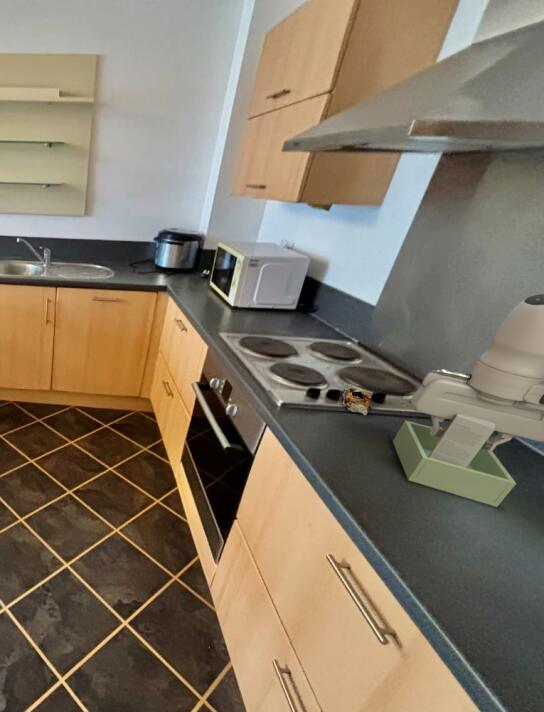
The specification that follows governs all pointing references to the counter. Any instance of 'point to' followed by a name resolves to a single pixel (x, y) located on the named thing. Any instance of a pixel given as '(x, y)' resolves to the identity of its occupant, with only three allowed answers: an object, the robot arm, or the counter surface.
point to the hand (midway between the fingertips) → (459, 441)
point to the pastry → (356, 400)
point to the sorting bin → (451, 468)
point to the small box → (462, 440)
